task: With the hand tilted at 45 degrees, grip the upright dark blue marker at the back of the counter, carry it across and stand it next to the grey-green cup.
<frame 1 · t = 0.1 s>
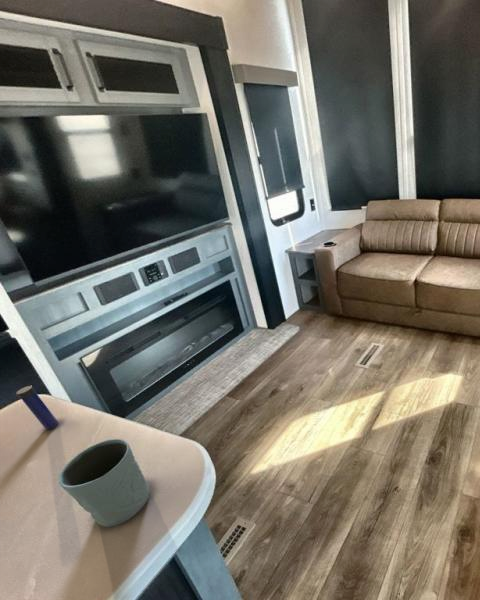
grey-green cup: (126, 503, 69), on the table
marker: (52, 426, 91), on the table
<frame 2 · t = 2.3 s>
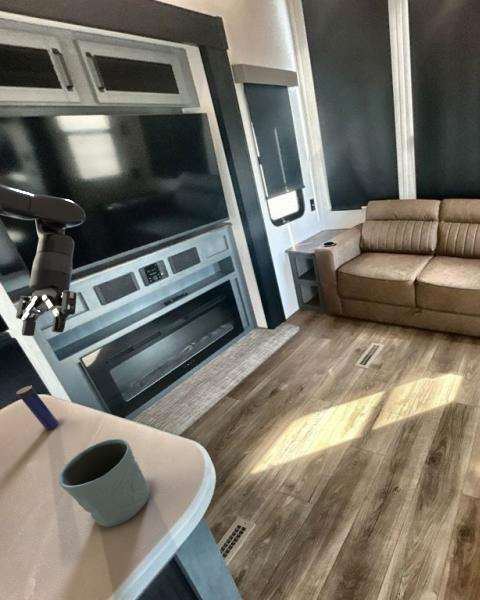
hand: (42, 333, 91), 21 cm above the table, tool tilted 40°, fingers open, 8 cm apart
nothing on the table moved.
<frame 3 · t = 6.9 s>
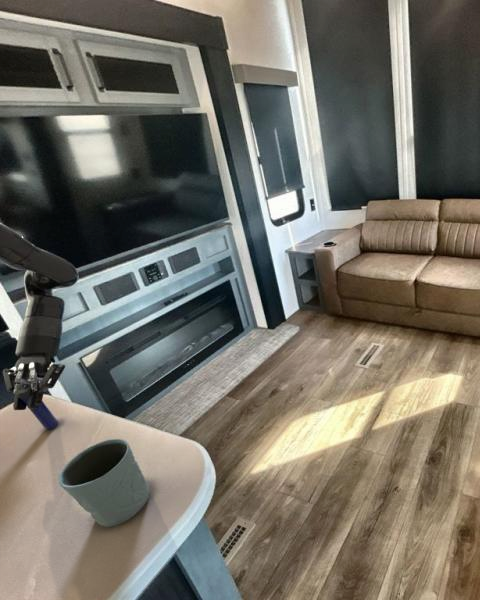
hand: (26, 408, 85), 8 cm above the table, tool tilted 45°, fingers closed on marker, 3 cm apart
marker: (52, 426, 91), on the table, touching gripper
everything else where it was.
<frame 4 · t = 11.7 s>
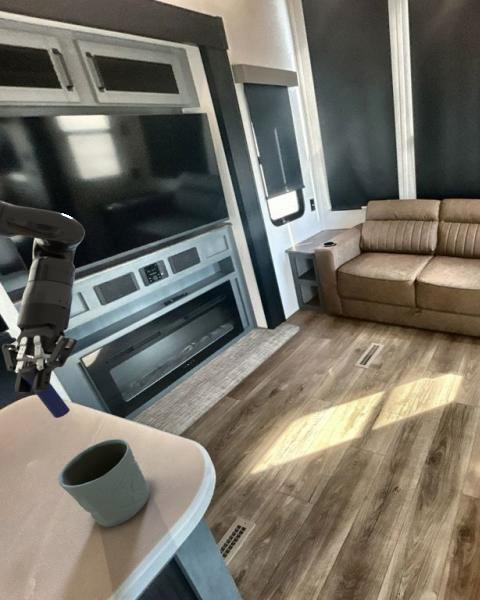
hand: (31, 391, 70), 20 cm above the table, tool tilted 45°, fingers closed on marker, 3 cm apart
marker: (62, 413, 76), point 12 cm above the table, touching gripper
everything else where it was.
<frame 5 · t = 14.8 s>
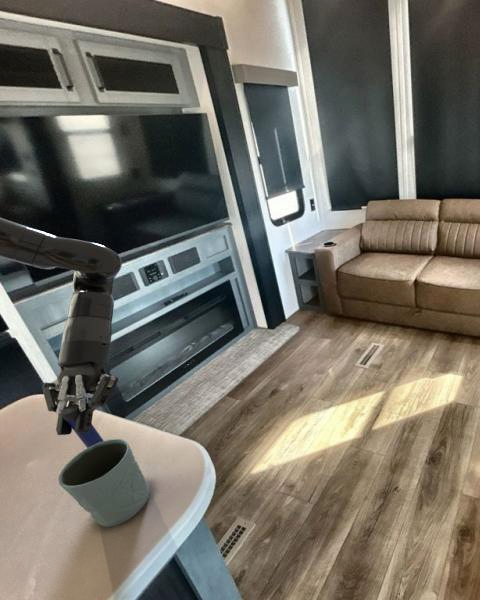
hand: (73, 433, 68), 14 cm above the table, tool tilted 45°, fingers closed on marker, 3 cm apart
marker: (101, 452, 73), point 6 cm above the table, touching gripper
everything else where it was.
when the fingers open (8 cm above the table, at t = 16.7 s): marker stays where it is, on the table.
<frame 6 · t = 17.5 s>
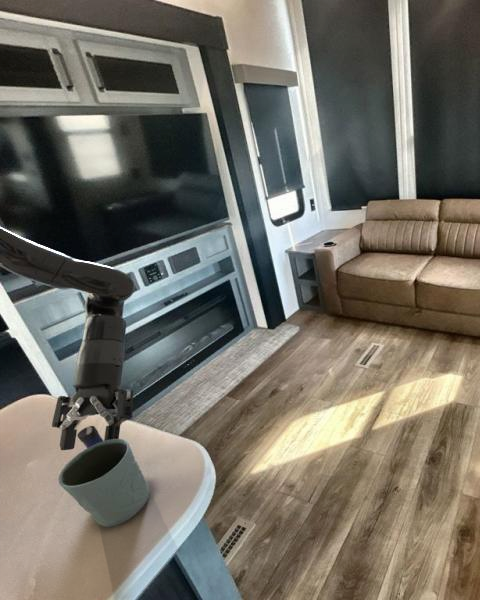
hand: (88, 447, 71), 9 cm above the table, tool tilted 45°, fingers open, 8 cm apart
marker: (115, 471, 76), on the table
everything else where it was.
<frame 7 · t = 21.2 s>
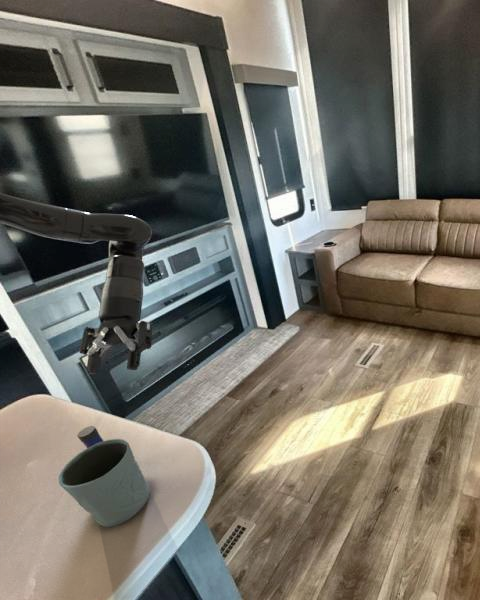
hand: (112, 371, 78), 17 cm above the table, tool tilted 45°, fingers open, 8 cm apart
nothing on the table moved.
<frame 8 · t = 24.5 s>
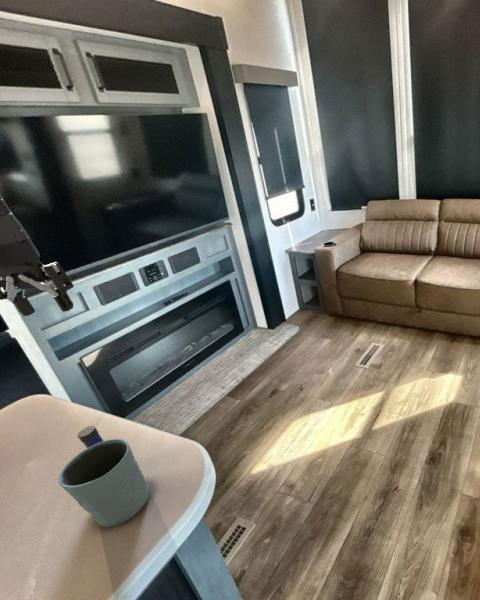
hand: (49, 312, 78), 30 cm above the table, tool pointing down, fingers open, 8 cm apart
nothing on the table moved.
at the end: marker 10.5 cm from the grey-green cup (horizontally); marker tilted 0°; marker moved 31.4 cm from its start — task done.
